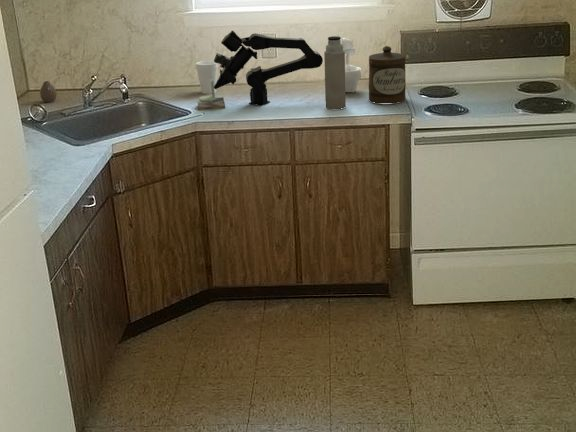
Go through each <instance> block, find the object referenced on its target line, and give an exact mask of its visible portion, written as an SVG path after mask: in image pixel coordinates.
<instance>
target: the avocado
mask: <svg viewBox="0 0 576 432" xmlns="http://www.w3.org/2000/svg"><path fill="white" fill-rule="evenodd" d="M57 94H58V93H57V90H56V88H55V87H54V85H53V84H51V82H50V81H49V80H47V81H43V83H42V85H41V87H40V89H39V95H40V99H41V100H42V101H43V102H44V103H45V104H46V103H48V104H49V103H54V102H55V101H56V100H57V97H58V96H57Z"/></svg>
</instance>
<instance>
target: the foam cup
mask: <svg viewBox="0 0 576 432" xmlns="http://www.w3.org/2000/svg"><path fill="white" fill-rule="evenodd" d="M218 64H219V63H215V62H214V60H202V61H197V62H196V63H195V69H196V72H197V76H198V82H199V86H200V90H201V93H202V94H207V95H208V94H209V95H210V94H212V89H211V79H213V82H214V86H215V84H216V82H217V80H218V67H219V65H218ZM216 92H217V89H215V88H214V94H215V93H216Z"/></svg>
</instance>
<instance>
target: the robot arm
mask: <svg viewBox="0 0 576 432" xmlns="http://www.w3.org/2000/svg"><path fill="white" fill-rule="evenodd" d="M220 43H221V44H222V45H223V46H224V47H225V48H226V49H227V50H228V51H230V53H233V52H234V55H231V56H230V57H227V56H226V55H223V54H221V53H218V52H217V53H216V54H215V57H214V58H213V59H214V60H213V61H214V62H215V63H218V64H219V67H220V68H221V69H219V77H217V82H216V84H215V86H214V88H215V89H216V90H218V89H219V88H221V87H224V86H226V85H228V84H230V83H231V84H232V85H234V84H235V83H236V82H237V76H238V73H239V72H240V71H241V70H244V69H245V68H244V67H245V66H246V65H247V63H249V61H250V60H251V59H252V58H254V59H255V60H257V59H258V51H260V50H266V49H270V48H271V49H272V48H275V49H276V48H277V49H296V50H297V49H298V50H300V51H301V52H302V53H303V55H302V56H301V57H299V58H297V59H294V60H291V61H288V62H285V63H282V64H279V65H275V66H272V67H268V68H262V67H261V65H259V66H257V67H255V68H250V70H248V71H247V72H246V74H245V80H246V83H247V84H248V85H249V87H251V88H250V92H249V97H250V98H249V99H250V102H248V104H249V105H253V106H260V107H261V106H264V105H266V104H269V103H271V100H268V88H267V84H266V82H267V81H268V80H270V79H274V78H277V77H279V76H284V75H286V74H290V73H293V72H297V71H299V70H308V69H309V70H311V69H317V68H319V67H321V66H322V65H323V63H324V61H323V60H324V59H323V57H322V55H321V54H320V53H319V52H318V51H316V50H313V49H312V48H311V46H310V45H309V44H308V43H307V41H306V40H305V39H304V38H302V37H299V38H293V37H292V38H291V37H290V38H287V37H274V36H273V37H272V36H267V35H264V34H262V33H261V34H260V33H255V32H254V33H252V34H250V35H249V36H247V37H243V38H241V37H240V36H239V35H238V34H237V33H236V32H235V31H234V30H231V31H230V32H229V33H228V34H227V35H225V36H224V37H223V39H222V40H221V41H220Z"/></svg>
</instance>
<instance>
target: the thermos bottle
mask: <svg viewBox="0 0 576 432" xmlns="http://www.w3.org/2000/svg"><path fill="white" fill-rule="evenodd" d="M338 36H339V35H337V36H335V35H334V36H328V37H327V40H328V41H327V45H326V46H325V51H324V52H323V53H324V55H323V56H324V59H323V60H324V87H325V88H324V90H325V91H324V92H325V93H324V94H325V96H324V97H325V99H324V100H325V109H326V108H327V110H329V109H340V110H342V109H341V108H344V107H345V108H346V107H347V106H346V102H347V101H346V93H345V65H346V54H345V51H344V50H343V45H342V41H341V36H339V37H338ZM345 108H344V109H345Z"/></svg>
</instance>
